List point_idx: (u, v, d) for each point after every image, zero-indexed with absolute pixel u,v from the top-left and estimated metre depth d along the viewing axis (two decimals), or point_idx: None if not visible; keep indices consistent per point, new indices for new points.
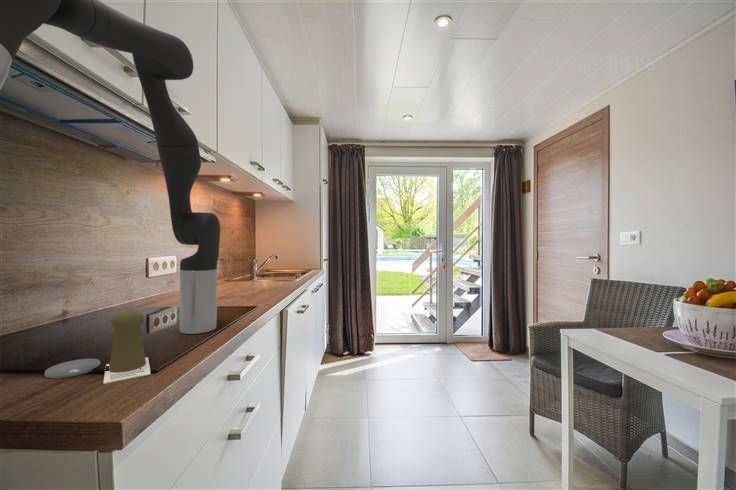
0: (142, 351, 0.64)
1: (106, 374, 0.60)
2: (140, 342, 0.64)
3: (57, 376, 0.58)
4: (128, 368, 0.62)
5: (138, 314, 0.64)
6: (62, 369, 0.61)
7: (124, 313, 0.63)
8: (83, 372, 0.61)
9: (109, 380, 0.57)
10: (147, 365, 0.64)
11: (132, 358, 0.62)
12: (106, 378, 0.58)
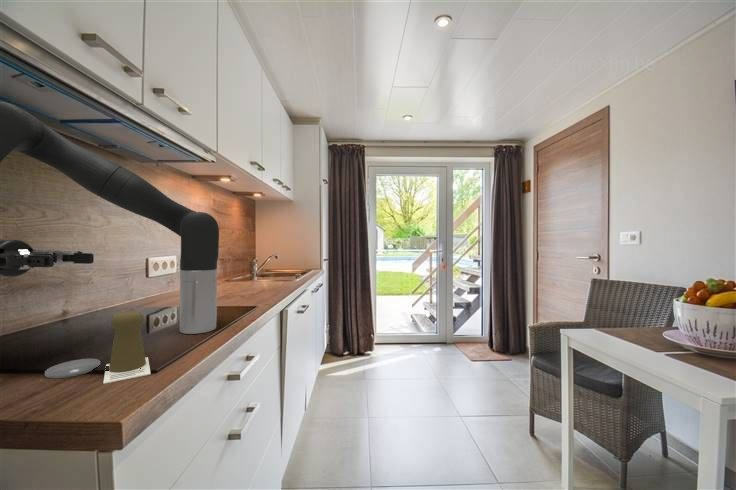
0: (142, 351, 0.64)
1: (106, 374, 0.60)
2: (140, 342, 0.64)
3: (57, 376, 0.58)
4: (128, 368, 0.62)
5: (138, 314, 0.64)
6: (62, 369, 0.61)
7: (124, 313, 0.63)
8: (83, 372, 0.61)
9: (109, 380, 0.57)
10: (147, 365, 0.64)
11: (132, 358, 0.62)
12: (106, 378, 0.58)
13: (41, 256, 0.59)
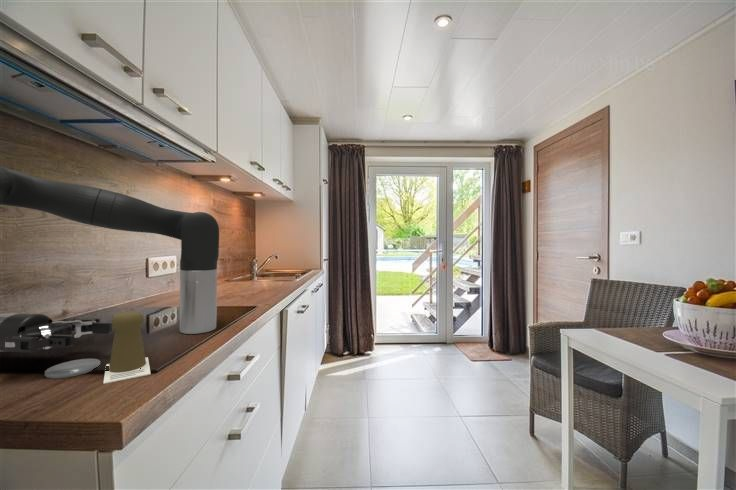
0: (142, 351, 0.64)
1: (106, 374, 0.60)
2: (140, 342, 0.64)
3: (57, 376, 0.58)
4: (128, 368, 0.62)
5: (138, 314, 0.64)
6: (62, 369, 0.61)
7: (124, 313, 0.63)
8: (83, 372, 0.61)
9: (109, 380, 0.57)
10: (147, 365, 0.64)
11: (132, 358, 0.62)
12: (106, 378, 0.58)
13: (62, 336, 0.59)
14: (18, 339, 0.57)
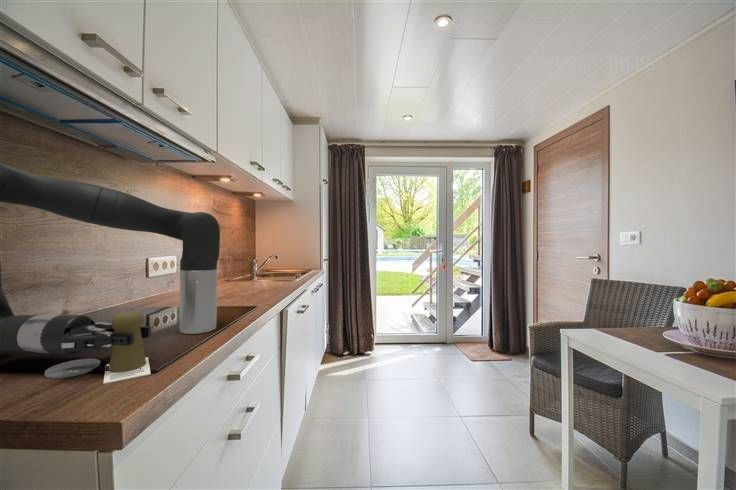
0: (142, 351, 0.64)
1: (106, 374, 0.60)
2: (140, 342, 0.64)
3: (57, 376, 0.58)
4: (128, 368, 0.62)
5: (138, 314, 0.64)
6: (62, 369, 0.61)
7: (124, 313, 0.63)
8: (83, 372, 0.61)
9: (109, 380, 0.57)
10: (147, 365, 0.64)
11: (132, 358, 0.62)
12: (106, 378, 0.58)
13: (123, 335, 0.61)
14: (80, 338, 0.58)
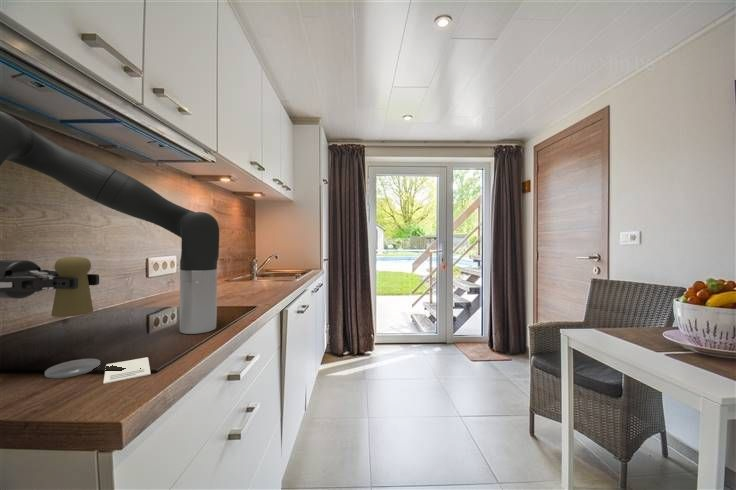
0: (88, 298, 0.63)
1: (106, 374, 0.60)
2: (86, 288, 0.62)
3: (57, 376, 0.58)
4: (71, 313, 0.60)
5: (84, 259, 0.62)
6: (62, 369, 0.61)
7: (69, 257, 0.61)
8: (83, 372, 0.61)
9: (109, 380, 0.57)
10: (147, 365, 0.64)
11: (75, 303, 0.60)
12: (106, 378, 0.58)
13: (66, 278, 0.59)
14: (18, 278, 0.56)
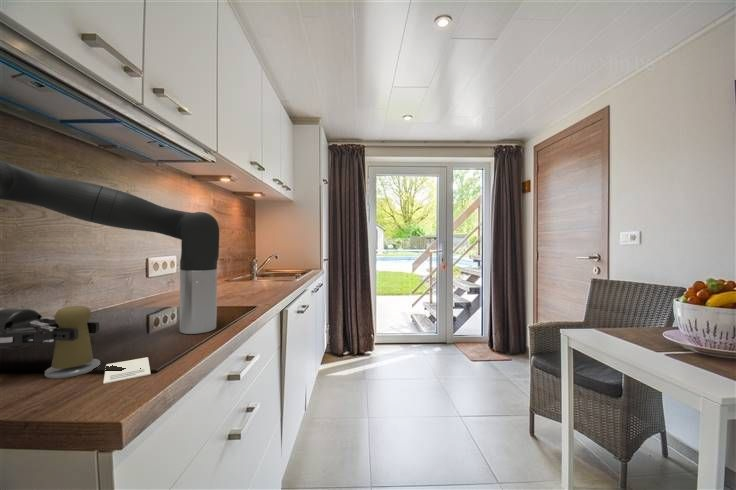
0: (88, 347, 0.63)
1: (106, 374, 0.60)
2: (86, 338, 0.62)
3: (57, 376, 0.58)
4: (71, 364, 0.60)
5: (84, 309, 0.62)
6: (62, 369, 0.61)
7: (69, 308, 0.61)
8: (83, 372, 0.61)
9: (109, 380, 0.57)
10: (147, 365, 0.64)
11: (75, 354, 0.61)
12: (106, 378, 0.58)
13: (66, 330, 0.59)
14: (19, 333, 0.56)
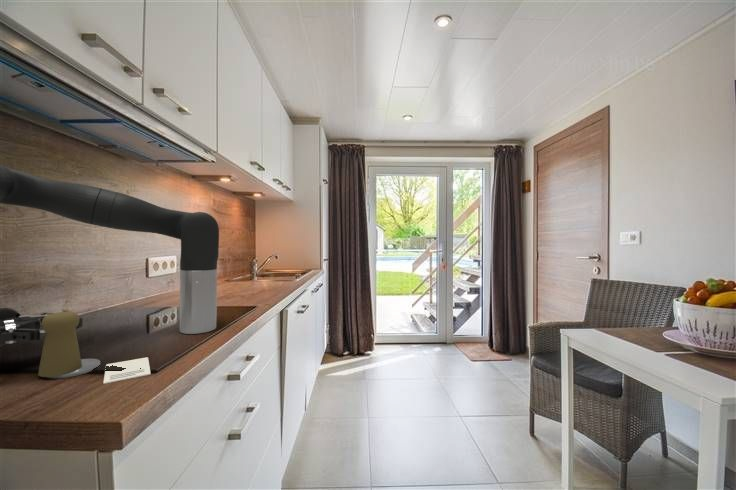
0: (76, 354, 0.61)
1: (106, 374, 0.60)
2: (74, 345, 0.61)
3: (57, 376, 0.58)
4: (58, 372, 0.58)
5: (72, 315, 0.60)
6: None
7: (56, 314, 0.59)
8: (83, 372, 0.61)
9: (109, 380, 0.57)
10: (147, 365, 0.64)
11: (63, 361, 0.59)
12: (106, 378, 0.58)
13: (27, 331, 0.57)
14: None
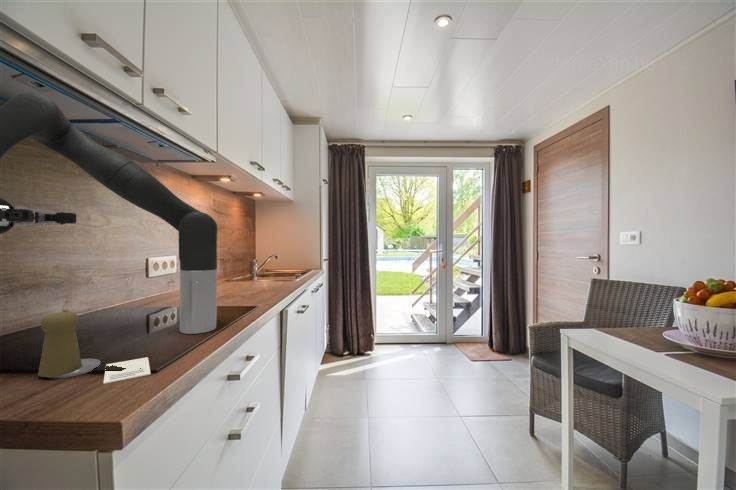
0: (76, 354, 0.61)
1: (106, 374, 0.60)
2: (74, 345, 0.61)
3: (57, 376, 0.58)
4: (58, 372, 0.58)
5: (71, 315, 0.60)
6: None
7: (55, 314, 0.59)
8: (83, 372, 0.61)
9: (109, 380, 0.57)
10: (147, 365, 0.64)
11: (63, 361, 0.59)
12: (106, 378, 0.58)
13: (20, 210, 0.57)
14: None
